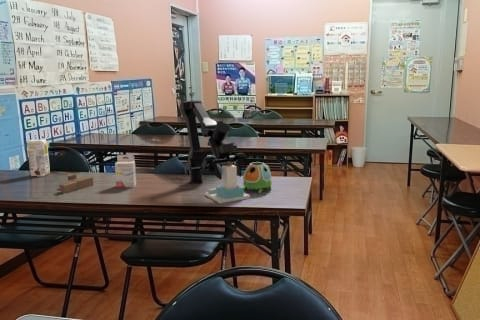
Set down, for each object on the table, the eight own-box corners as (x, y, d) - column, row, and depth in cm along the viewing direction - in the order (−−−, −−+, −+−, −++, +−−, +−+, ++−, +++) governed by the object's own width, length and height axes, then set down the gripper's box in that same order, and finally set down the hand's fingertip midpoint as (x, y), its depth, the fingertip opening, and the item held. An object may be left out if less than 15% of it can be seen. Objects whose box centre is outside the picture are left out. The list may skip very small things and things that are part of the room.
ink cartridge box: (115, 187, 202) (113, 156, 199) (118, 185, 207) (116, 154, 204) (134, 187, 202) (132, 156, 200) (136, 184, 207) (134, 154, 204)
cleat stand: (205, 195, 187) (204, 184, 186) (233, 190, 193) (233, 180, 193) (220, 203, 175) (219, 191, 174) (250, 197, 182) (249, 187, 181)
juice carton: (45, 176, 228) (41, 140, 224) (29, 177, 228) (25, 141, 224) (51, 173, 235) (48, 138, 231) (36, 173, 235) (32, 139, 232)
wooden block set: (94, 174, 208) (63, 182, 192) (95, 186, 209) (64, 195, 193) (69, 171, 216) (38, 178, 200) (70, 182, 217) (39, 190, 201)
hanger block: (222, 194, 183) (221, 161, 180) (231, 193, 185) (231, 160, 182) (227, 197, 179) (227, 163, 176) (237, 195, 181) (236, 162, 178)
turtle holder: (280, 185, 202) (280, 160, 199) (262, 194, 186) (262, 167, 184) (256, 182, 208) (256, 158, 205) (237, 191, 192) (237, 165, 190)
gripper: (203, 137, 176) (216, 169, 169) (243, 134, 185) (257, 163, 178) (196, 154, 184) (208, 184, 177) (234, 149, 193) (247, 178, 186)
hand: (231, 177), depth 179 cm, fingers open, 9 cm apart
